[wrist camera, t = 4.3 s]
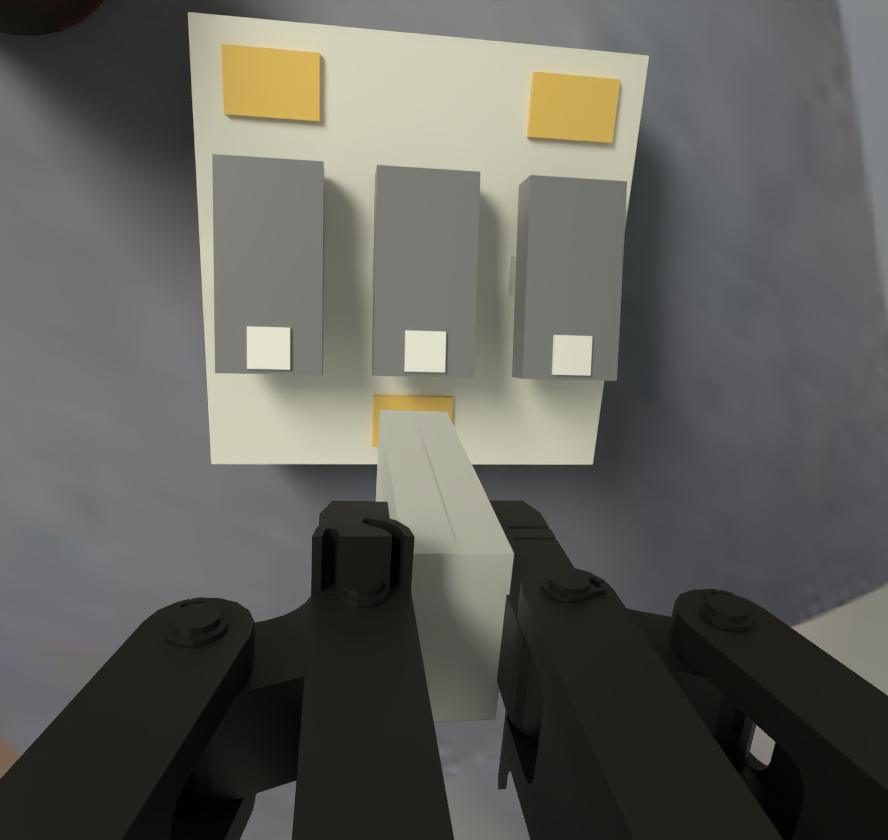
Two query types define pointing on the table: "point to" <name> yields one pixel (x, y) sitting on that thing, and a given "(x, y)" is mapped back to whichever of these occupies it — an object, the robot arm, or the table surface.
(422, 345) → the block
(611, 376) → the block
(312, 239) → the block
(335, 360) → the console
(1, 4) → the mug
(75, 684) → the table surface
